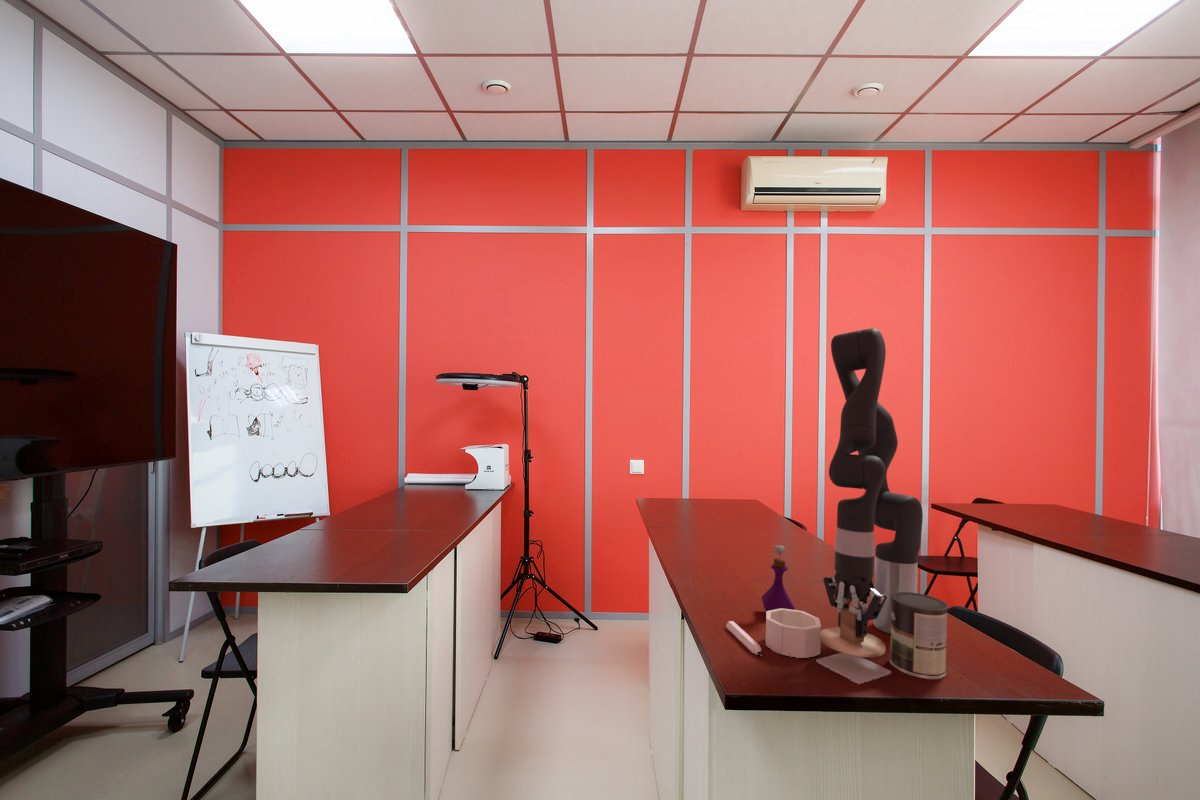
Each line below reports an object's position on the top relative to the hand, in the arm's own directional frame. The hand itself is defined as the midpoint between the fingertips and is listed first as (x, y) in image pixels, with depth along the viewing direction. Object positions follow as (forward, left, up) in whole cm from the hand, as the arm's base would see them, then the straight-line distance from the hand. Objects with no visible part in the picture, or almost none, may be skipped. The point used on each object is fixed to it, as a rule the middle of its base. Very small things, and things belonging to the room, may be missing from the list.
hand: (852, 633), depth 112 cm
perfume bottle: (-7, -27, -7) cm, 29 cm away
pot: (+4, -12, -7) cm, 15 cm away
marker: (+12, -18, -8) cm, 23 cm away
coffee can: (-13, +6, -7) cm, 16 cm away
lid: (0, 0, -2) cm, 2 cm away
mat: (0, 0, -7) cm, 7 cm away
